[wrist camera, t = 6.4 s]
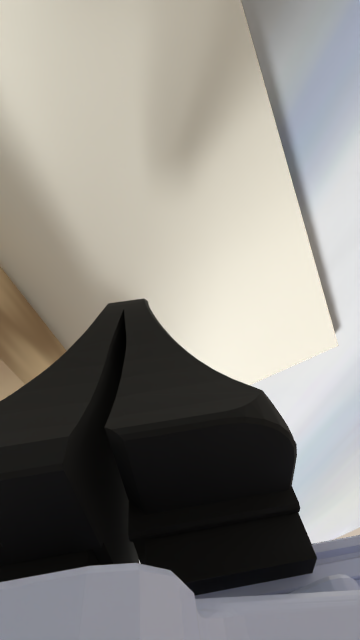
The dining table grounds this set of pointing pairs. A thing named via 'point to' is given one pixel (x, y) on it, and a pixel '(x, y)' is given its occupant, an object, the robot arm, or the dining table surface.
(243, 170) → the board
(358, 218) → the dining table surface
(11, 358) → the tan wooden bar
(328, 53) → the dining table surface
